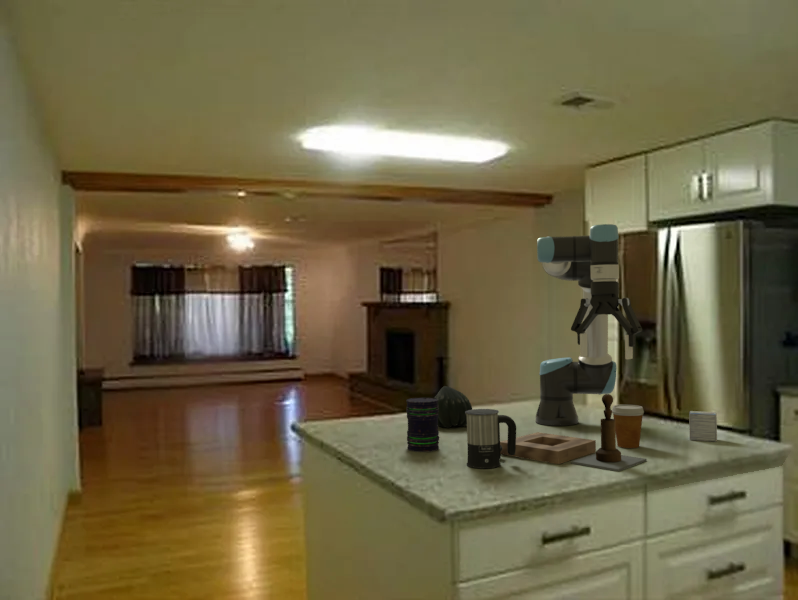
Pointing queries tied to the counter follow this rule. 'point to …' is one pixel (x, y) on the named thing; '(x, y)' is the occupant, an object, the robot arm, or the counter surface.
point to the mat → (614, 466)
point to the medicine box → (703, 426)
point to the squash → (452, 407)
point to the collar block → (550, 447)
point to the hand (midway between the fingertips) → (605, 357)
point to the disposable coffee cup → (628, 425)
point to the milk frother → (487, 437)
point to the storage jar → (422, 424)
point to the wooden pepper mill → (608, 435)
